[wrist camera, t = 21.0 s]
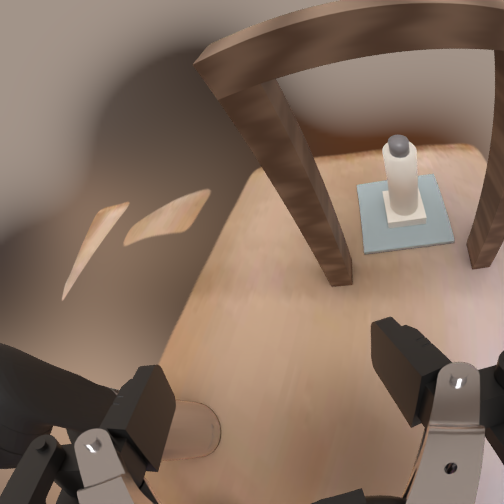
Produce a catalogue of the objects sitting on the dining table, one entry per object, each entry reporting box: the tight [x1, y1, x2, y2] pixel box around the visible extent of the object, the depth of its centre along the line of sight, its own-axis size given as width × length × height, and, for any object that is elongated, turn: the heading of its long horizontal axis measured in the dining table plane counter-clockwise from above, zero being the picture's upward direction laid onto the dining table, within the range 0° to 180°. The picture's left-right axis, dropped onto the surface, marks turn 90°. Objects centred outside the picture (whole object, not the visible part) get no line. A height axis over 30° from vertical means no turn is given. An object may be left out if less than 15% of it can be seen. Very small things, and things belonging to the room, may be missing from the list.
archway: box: [193, 0, 504, 287], centre depth 22 cm, size 24×4×33 cm, turn 82°
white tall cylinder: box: [382, 135, 427, 229], centre depth 33 cm, size 6×6×14 cm
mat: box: [357, 174, 455, 254], centre depth 38 cm, size 14×13×1 cm
